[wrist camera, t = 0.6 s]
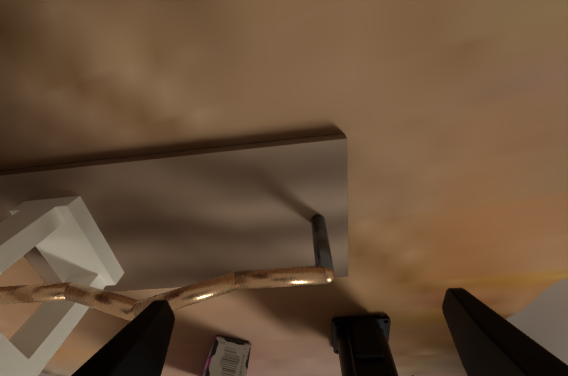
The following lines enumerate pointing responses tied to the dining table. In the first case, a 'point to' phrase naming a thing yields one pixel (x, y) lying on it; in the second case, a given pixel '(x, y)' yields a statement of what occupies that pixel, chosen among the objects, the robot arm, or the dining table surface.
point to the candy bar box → (227, 358)
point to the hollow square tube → (67, 265)
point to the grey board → (201, 208)
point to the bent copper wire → (187, 294)
